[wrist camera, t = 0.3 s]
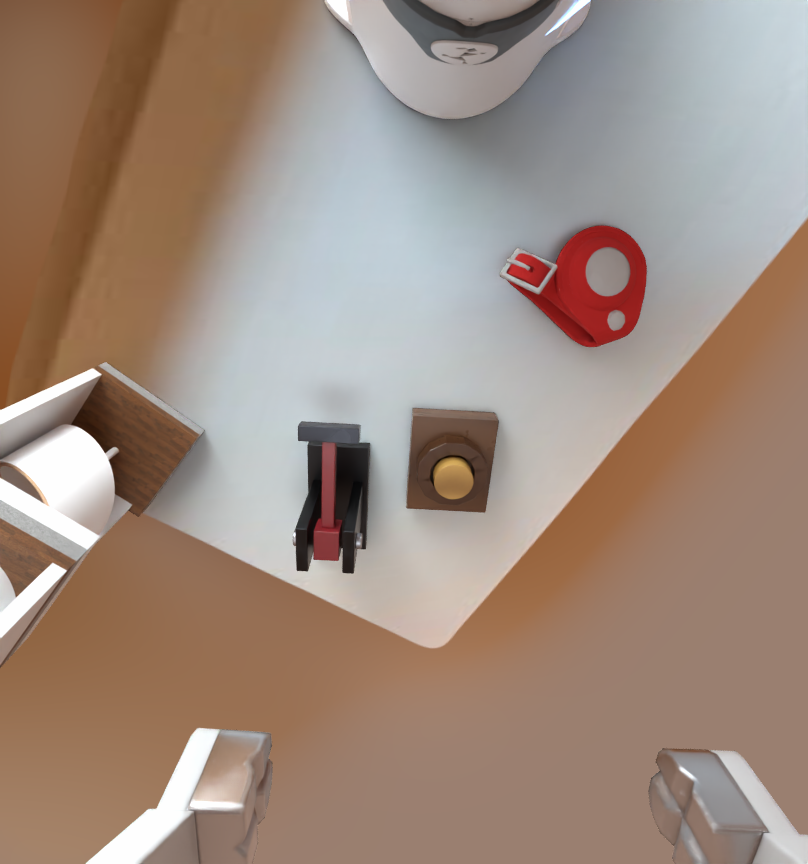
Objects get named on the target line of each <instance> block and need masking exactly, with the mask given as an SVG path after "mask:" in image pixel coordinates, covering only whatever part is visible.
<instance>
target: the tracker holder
mask: <svg viewBox="0 0 808 864" xmlns="http://www.w3.org/2000/svg"><path fill="white" fill-rule="evenodd" d="M499 275H500V277H502V278H504V279H506V280H507V281H508V282H509V283H510V284H511V285H512V286H513V287H515V288H516V289H517V290H518V291H520V292H521V293H522V294H523V295H525V296H526V297H527V298H528V299H530V300H531V301H532V302H533V303H534V304H535V305H536V306H537V307H538V308H540V309H541V310H542V311H543V312H544V313H545V314H546V315H547V316H548V317H549V318H550V319H551V320H552V321H553V322H554V323H555V324H556V325H557V326H558V327H560V328H561V329H562V330H563V331H564V332H565V333H566V334H567V335H568V336H569V337H570V338H571V339H573V340H574V341H575V342H577V343H578V344H581V345H583V346H586V347H597V346H601V345H603V344H606V343H609V342H612V341H615V340H618V339H620V338H623V337H625V336H627V335H628V334H629V333H630V332H631V331H632V330H633V329H634V327H635V326H636V324H637V322H638V319H639V316H640V312H641V307H642V303H643V299H644V294H645V287H646V275H647V265H646V260H645V257H644V254H643V252H642V250H641V248H640V247H639V245H638V244H637V243H636V241H635V240H634V239H633V238H632V237H631V236H630V235H628V234H627V233H625V232H624V231H622V230H620V229H618V228H615V227H611V226H594V227H590V228H587V229H584V230H583V231H581V232H579V233H577V234H576V235H575V236H573V237H572V238H571V239H570V240H569V241H568V242H567V243H566V245H565V246H564V247H563V249H562V250H561V252H560V254H559V256H558V258H557V261H556V264H554V263H552V262H549V261H547V260H545V259H543V258H540V257H538V256H536V255H534V254H531V253H529V252H527V251H524V250H522V249H520V248H516V250H515V251H514V253H513V254H512V256H511V257H510V258H508V259H507V263H506V264H505V266H504V267H503V269H502V270H501V272H500V273H499Z"/></svg>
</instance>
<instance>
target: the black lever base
mask: <svg viewBox="0 0 808 864" xmlns="http://www.w3.org/2000/svg"><path fill="white" fill-rule="evenodd" d="M369 456H370V443H359V444H347V443H337V457H336V509H335V519H337V520H342V547H341V548H343V566H342V572H343V573H354V568H355V561H356V555H357V549H366V540H367V512H368V484H369ZM321 513H322V442H311V441H309V443H308V496H307V498H306V501H305V504H304V507H303V509H302V512H301V515H300V518H299V520H298V523H297V526H296V529H295V531H294V535H293V545H294V546H296V564H297V571H308V569H309V566H310V562H311V559H312V555H313V551H314V529H315V526H316V523H317V521H318V519H321Z"/></svg>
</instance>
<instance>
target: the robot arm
mask: <svg viewBox="0 0 808 864" xmlns="http://www.w3.org/2000/svg"><path fill="white" fill-rule="evenodd" d="M324 1H325V4H326V6H327V8H328V9H329V11H330V12H331V13H332V14H333V15H334V16H335V17H336V18H337V19H338V20H339V21H340V22H341V23H342V24H343V25H344V26H345V27H346V28H347V29H349V30H350V31H351V32H352V33H353V34H354V35H355V36H356V38H357V39H358V41H359V42H360V44H361V46H362V48H363V50H364V52H365V54H366V56H367V58H368V60H369V62H370V64H371V66H372V68H373V69H374V71H375V73H376V74H377V76H378V77H379V79H380V80H381V81H382V83H383V84H384V85H385V86H386V87H387V89H388V90H389V91H390V92H391V93H392V94H393V95H394V96H395V97H396V98H398V99H399V100H400V101H401V102H403V103H404V104H406V105H407V106H409V107H410V108H412V109H414V110H416V111H418V112H420V113H423V114H425V115H429V116H432V117H437V118H443V119H461V118H468V117H472V116H476V115H479V114H482V113H484V112H487V111H489V110H491V109H493V108H494V107H496V106H498V105H499V104H501V103H502V102H504V101H505V100H507V99H508V98H509V97H510V96H511V95H513V94H514V93H515V92H516V91H517V90H518V89H519V88H520V87H521V86H522V84H523V83H524V82H525V81H526V80H527V78H528V77H529V76H530V74H531V73H532V72H533V70H534V69H535V67H536V66H537V64H538V63H539V62H540V60H541V59H542V58H543V56H544V55H545V54H546V53H547V52H548V51H549V49H551V48H552V47H554V46H555V45H557V44H558V43H560V42H561V41H563V40H565V39H566V38H567V37H569V36H570V35H571V34H573V33H574V32H575V31H576V30H577V29H578V28H579V27H580V26H581V25H582V23H583V22H584V20H585V18H586V17H587V15H588V12H589V9H590V2H591V0H324ZM271 747H272V741H271V733H265V732H251V731H238V730H224V729H222V730H221V729H205V728H197V729H196V731H195V732H194V733H193V734H192V735H191V737H190V739H189V741H188V744H187V746H186V748H185V750H184V752H183V754H182V756H181V758H180V760H179V763H178V765H177V767H176V769H175V771H174V773H173V775H172V777H171V779H170V781H169V784H168V786H167V788H166V790H165V792H164V794H163V796H162V798H161V801H160V802H159V805H158V807H157V809H148V810H147V811H146V812H145V813H144V814H142V815H141V816H140V817H139V818H138V819H137V820H135V821H134V822H133V823H132V824H131V825H130V826H128V827H127V828H126V829H125V830H124V831H123V832H122V833H120V834H119V835H118V836H117V837H116V838H115V839H114V840H112V841H111V842H110V843H109V844H108V845H106V847H104V848H103V849H102V850H101V851H100V852H98V853H97V854H96V855H95V856H94V857H93V858H91V859H90V860H89V861H88V862H87V863H86V864H253V860H254V856H255V852H256V849H257V845H258V824H259V823H260V822H261V821H262V820H263V819H264V818H265V814H266V810H267V806H268V802H269V796H270V790H271V785H272V762H271V761H270V759H269V754H270V750H271ZM656 763H657V765H658V767H659V769H660V771H659V772H658V773H657V774H656V775H654V776H653V777H652V778H651V781H650V786H649V800H650V807H651V811H652V814H653V818H654V820H655V822H656V825H657V827H658V829H659V831H660V833H661V834H662V835H663V836H664V837H665V838H666V839H667V840H668V841H669V842H670V843H671V844H672V845H673V846H674V850H673V857H672V859H673V861H674V863H675V864H808V835H802V834H798V832H797V831H796V830H795V828H794V827H793V826H792V825H791V823H790V821H789V820H788V818H787V817H786V816H785V815H784V813H783V812H782V810H781V809H780V808H779V806H778V805H777V804H776V802H775V801H774V799H773V798H772V797H771V795H770V794H769V792H768V791H767V790H766V788H765V787H764V786H763V784H762V783H761V781H760V780H759V779H758V777H757V776H756V775H755V773H754V772H753V771H752V769H751V768H750V766H749V765H748V764H747V762H746V761H745V759H744V758H743V757H742V756H741V755H740V754H738V753H737V752H736V751H716V750H710V751H709V750H701V749H699V750H698V749H664V748H663V749H662V750H661V751H659V752H658V755H657V759H656Z"/></svg>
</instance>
